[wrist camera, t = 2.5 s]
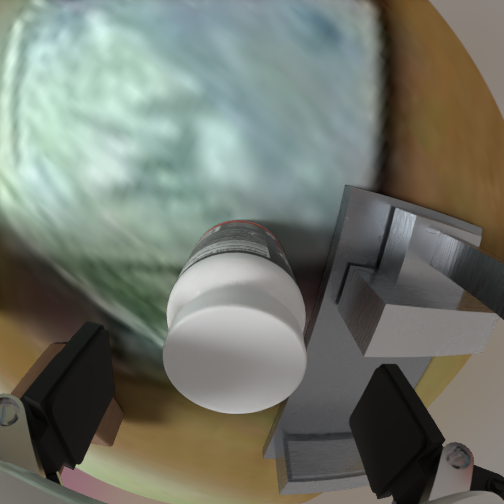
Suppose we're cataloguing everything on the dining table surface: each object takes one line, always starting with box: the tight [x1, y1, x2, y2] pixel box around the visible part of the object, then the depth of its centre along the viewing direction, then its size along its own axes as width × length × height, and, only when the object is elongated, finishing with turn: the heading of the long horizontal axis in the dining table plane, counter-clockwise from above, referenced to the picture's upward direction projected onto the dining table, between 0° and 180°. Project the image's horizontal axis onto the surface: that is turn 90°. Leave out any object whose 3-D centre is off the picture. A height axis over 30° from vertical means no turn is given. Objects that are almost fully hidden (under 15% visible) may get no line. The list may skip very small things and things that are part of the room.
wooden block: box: [11, 343, 124, 475], centre depth 13 cm, size 9×4×18 cm, turn 8°
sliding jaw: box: [337, 208, 504, 357], centre depth 10 cm, size 7×10×14 cm
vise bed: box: [263, 185, 483, 495], centre depth 18 cm, size 26×12×6 cm, turn 170°
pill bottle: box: [163, 220, 307, 414], centre depth 13 cm, size 6×6×10 cm
